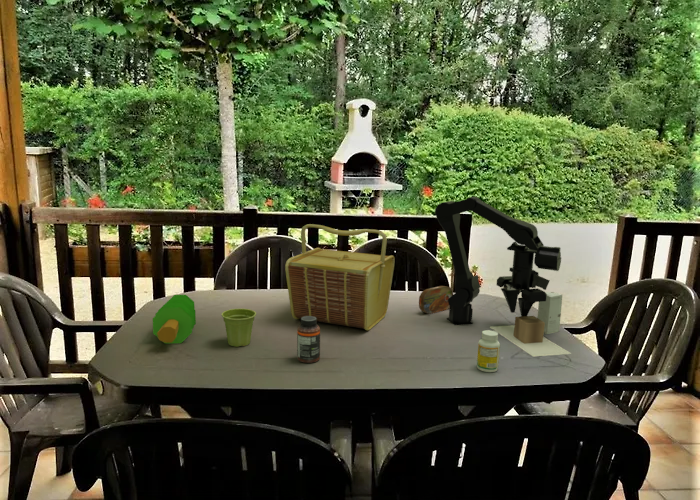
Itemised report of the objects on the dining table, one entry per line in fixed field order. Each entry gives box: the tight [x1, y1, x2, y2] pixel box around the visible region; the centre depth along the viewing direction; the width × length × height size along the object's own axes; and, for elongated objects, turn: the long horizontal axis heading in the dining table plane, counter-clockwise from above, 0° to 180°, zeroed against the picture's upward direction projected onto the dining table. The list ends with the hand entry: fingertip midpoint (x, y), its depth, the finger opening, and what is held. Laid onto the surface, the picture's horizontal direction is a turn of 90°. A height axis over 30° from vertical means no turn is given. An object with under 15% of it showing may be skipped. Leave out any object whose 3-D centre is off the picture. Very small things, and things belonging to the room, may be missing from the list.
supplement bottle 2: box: [476, 329, 501, 373], centre depth 142 cm, size 5×5×10 cm
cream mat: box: [489, 324, 572, 358], centre depth 164 cm, size 12×25×1 cm, turn 14°
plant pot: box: [221, 308, 257, 348], centre depth 154 cm, size 9×9×9 cm
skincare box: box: [536, 291, 563, 335], centre depth 171 cm, size 6×4×12 cm
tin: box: [418, 285, 454, 315], centre depth 190 cm, size 15×3×8 cm, turn 129°
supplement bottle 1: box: [296, 316, 321, 364], centre depth 144 cm, size 6×6×11 cm
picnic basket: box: [284, 223, 396, 331], centre depth 177 cm, size 29×26×30 cm
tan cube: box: [513, 315, 545, 344], centre depth 163 cm, size 6×6×6 cm
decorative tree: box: [152, 294, 197, 345], centre depth 161 cm, size 11×12×30 cm
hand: (518, 315), depth 169 cm, fingers open, 6 cm apart
